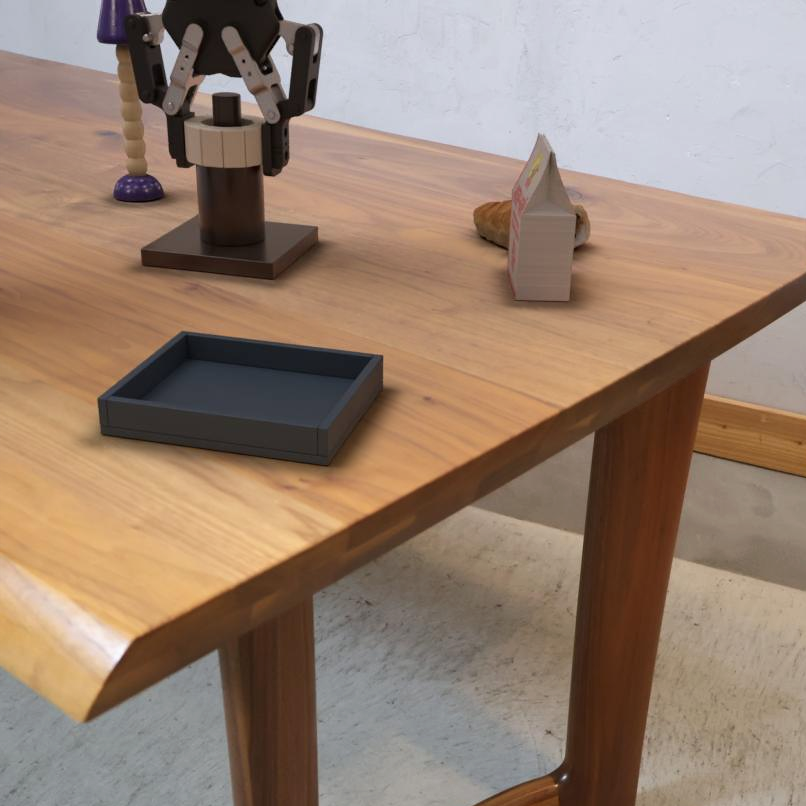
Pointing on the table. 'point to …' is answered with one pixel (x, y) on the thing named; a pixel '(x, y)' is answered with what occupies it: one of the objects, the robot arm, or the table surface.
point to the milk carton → (541, 230)
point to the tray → (244, 397)
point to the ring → (223, 142)
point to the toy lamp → (128, 103)
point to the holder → (230, 220)
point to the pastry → (496, 222)
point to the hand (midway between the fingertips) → (230, 169)
